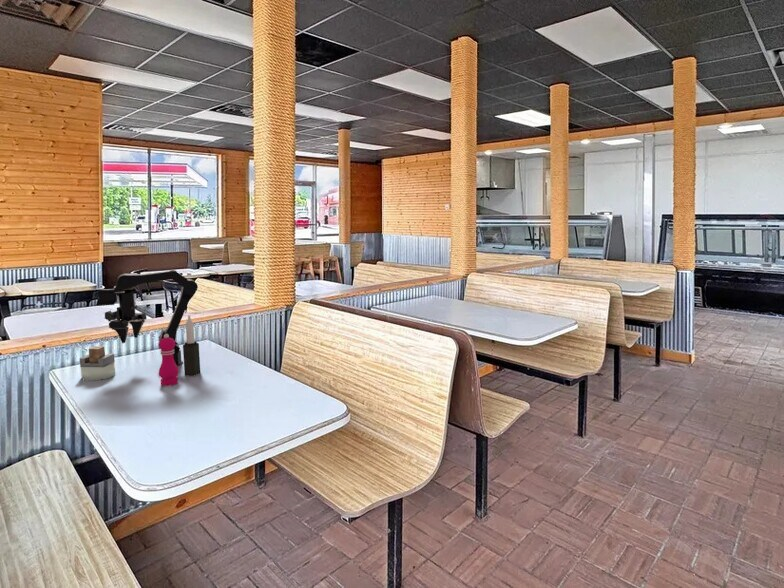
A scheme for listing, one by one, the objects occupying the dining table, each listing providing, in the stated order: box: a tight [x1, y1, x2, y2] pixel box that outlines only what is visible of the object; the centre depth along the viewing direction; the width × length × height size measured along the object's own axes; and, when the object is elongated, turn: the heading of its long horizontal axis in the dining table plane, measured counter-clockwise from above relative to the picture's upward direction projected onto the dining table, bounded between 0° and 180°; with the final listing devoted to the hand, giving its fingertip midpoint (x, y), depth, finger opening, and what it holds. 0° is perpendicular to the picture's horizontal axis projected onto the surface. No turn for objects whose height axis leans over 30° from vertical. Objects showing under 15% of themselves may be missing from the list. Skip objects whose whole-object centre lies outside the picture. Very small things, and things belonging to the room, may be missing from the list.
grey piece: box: [80, 362, 116, 381], centre depth 206 cm, size 12×12×5 cm
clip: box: [79, 353, 116, 368], centre depth 205 cm, size 10×8×4 cm
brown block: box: [88, 345, 106, 363], centre depth 205 cm, size 4×4×7 cm
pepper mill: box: [158, 334, 180, 387], centre depth 197 cm, size 7×7×20 cm
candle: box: [182, 315, 201, 377], centre depth 208 cm, size 5×5×25 cm
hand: (129, 340), depth 213 cm, fingers open, 9 cm apart
